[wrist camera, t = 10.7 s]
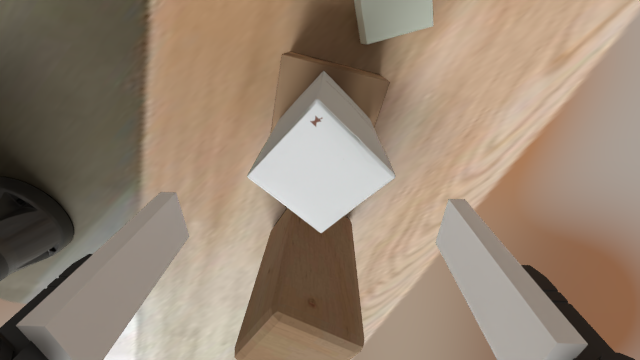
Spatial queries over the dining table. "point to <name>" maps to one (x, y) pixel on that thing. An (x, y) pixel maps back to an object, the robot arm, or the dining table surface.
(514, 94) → the dining table surface
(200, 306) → the dining table surface
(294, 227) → the wooden block
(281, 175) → the supplement box
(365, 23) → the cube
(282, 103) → the base block
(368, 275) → the dining table surface
